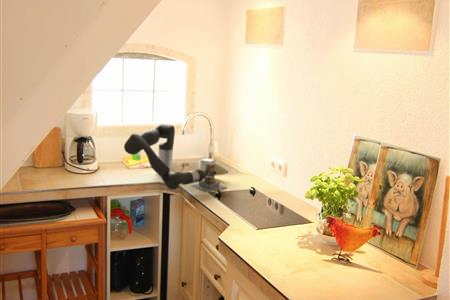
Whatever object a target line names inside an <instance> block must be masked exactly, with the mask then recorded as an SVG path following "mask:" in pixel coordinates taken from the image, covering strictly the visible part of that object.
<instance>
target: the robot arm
mask: <svg viewBox="0 0 450 300" xmlns="http://www.w3.org/2000/svg"><path fill="white" fill-rule="evenodd" d="M175 133H176V131H175V126H174V125H171V124H166V123H165V124H164V123H163V124H159V125H157V126H156V127H155V128H152V129H149V130H146V131H144V132H143V133H142V134H138V133H132V134H130V137H128V138H127V140H126V142H125V143H124V146H123V148H124V151H125V152H126V153H127V154H128V155H133V156H134V155H137V154H138V153H140V152H141V151H144V152H145V155H146V157H147V159H148V162H149V165H150V167H151V169H152V170H153V171H155V173H156V174H157V175H158V176H159V177H160V178H161V180H162V181H163V183H164V185H165V186H166V187H167V189H169V190H173V191H174V190H176V189H178V187H179V186H180V185H185V186H187V185H189V184H190V185H191V184H197V183H199V182H200V181H203V180H205V179H204V178H209V179H212V178H213V177H214V178H215V176H216V175H217V171H216V170H215V171H214V172H205V171H206V170H203V169H202V170H200V168H199V169H193V170H189V171H186V172H182V171H181V172H179V171H176V172H173V173H172V170H173V154H174V153H173V152H174V144H175V143H174V141H175V135H176V134H175ZM160 139H164V140H165V139H166V141H164V142H162V143H159V144H158V142H159V141H160ZM156 144H158V155H157V154H156V153H155V151H154V149H152V146H154V145H156ZM210 173H211V174H210Z"/></svg>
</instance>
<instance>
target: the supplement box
mask: <svg viewBox="0 0 450 300" xmlns="http://www.w3.org/2000/svg"><path fill="white" fill-rule="evenodd" d="M208 163H212V164H215V165H216V159H213V158H207V157H206V158H203V159H200V168H199V169H200V170H202V169H203V170H206V164H208ZM203 180H205V178H204V179H203Z"/></svg>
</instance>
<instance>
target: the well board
mask: <svg viewBox="0 0 450 300" xmlns="http://www.w3.org/2000/svg"><path fill="white" fill-rule="evenodd" d="M191 186H193V187H192V188H194V187H196V188H195V189H197V188H199V189H198V190H200V189H202V190H201V191H203V190H205V191H204V192H206V191H208V192H207V193H209V192H212V191H215V192H217V191H216V190H218V191H221V190H220V189H222V190H225V189H227V188H228V187H227V186H226V185H222V184H220V182H219V181H215V180H214V183H213V184H207V183H205V179H203V180H202V181H200V182H196V183H192V184H190V187H191ZM224 188H225V189H224ZM212 193H213V192H212Z"/></svg>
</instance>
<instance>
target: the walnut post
mask: <svg viewBox="0 0 450 300" xmlns="http://www.w3.org/2000/svg"><path fill="white" fill-rule="evenodd" d="M214 171H216V163H215V164H212V163H208V164H206V171H205V172H214ZM210 174H211V173H210ZM204 180H205V183H207V184H213V183H214V181H215V176H214V177H213V178H212V179H209V178H205V179H204Z"/></svg>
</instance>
